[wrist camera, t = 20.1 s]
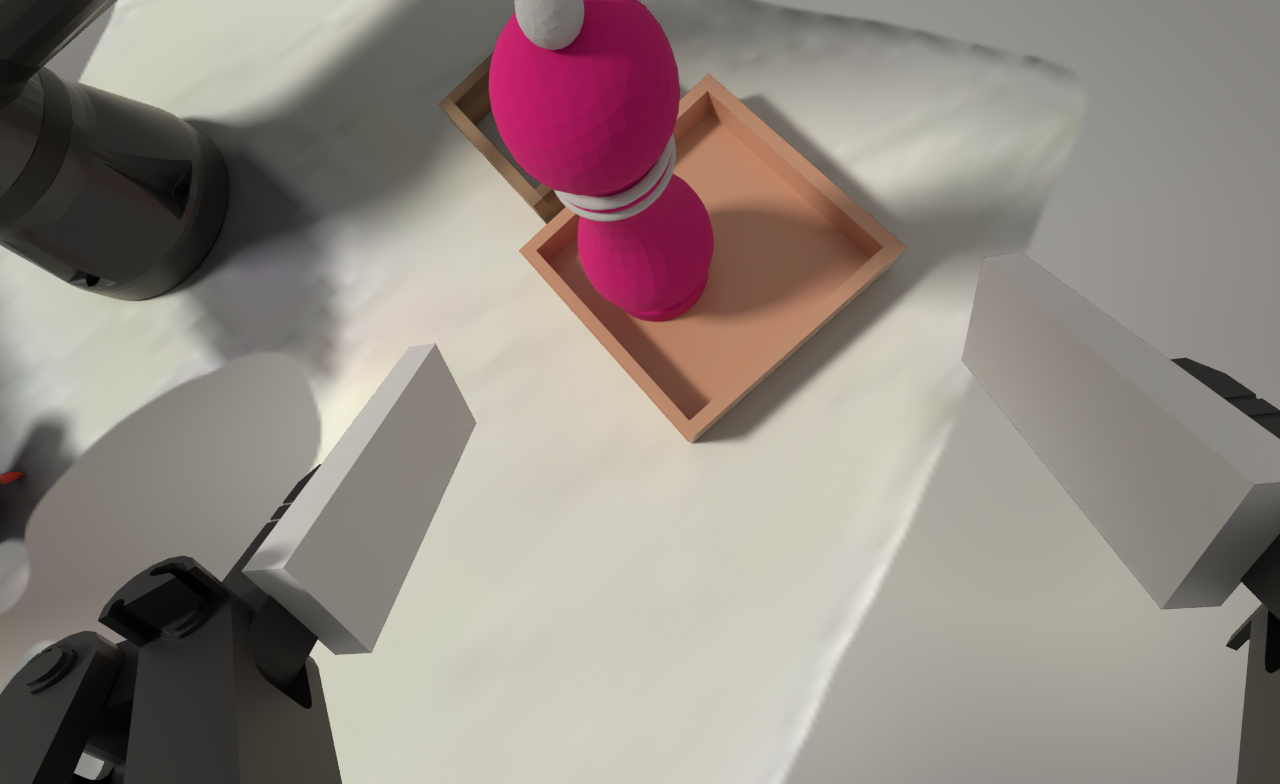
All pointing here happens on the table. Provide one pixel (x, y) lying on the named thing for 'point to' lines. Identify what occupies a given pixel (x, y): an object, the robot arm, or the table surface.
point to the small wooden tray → (466, 113)
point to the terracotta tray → (732, 265)
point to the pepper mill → (606, 144)
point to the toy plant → (10, 477)
